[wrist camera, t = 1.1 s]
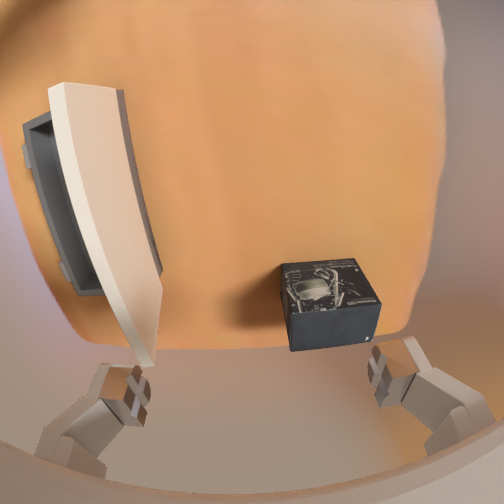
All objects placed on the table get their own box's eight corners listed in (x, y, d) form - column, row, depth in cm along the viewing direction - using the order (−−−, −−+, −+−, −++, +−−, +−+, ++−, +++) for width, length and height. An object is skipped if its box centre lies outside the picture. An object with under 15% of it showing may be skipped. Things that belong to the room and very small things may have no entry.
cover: (47, 88, 12) (63, 81, 12) (104, 91, 22) (115, 88, 22) (142, 367, 24) (154, 366, 24) (153, 290, 34) (162, 289, 34)
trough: (41, 120, 27) (18, 126, 22) (123, 89, 26) (104, 89, 22) (87, 276, 39) (73, 296, 34) (162, 269, 38) (154, 291, 34)
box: (355, 255, 38) (384, 303, 29) (349, 293, 42) (372, 343, 33) (279, 261, 38) (290, 314, 29) (280, 299, 42) (289, 354, 33)
